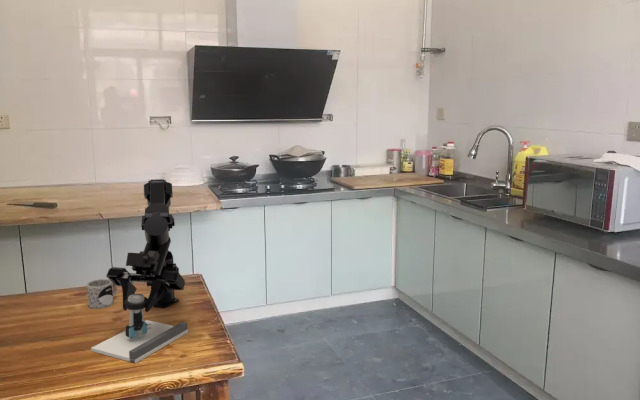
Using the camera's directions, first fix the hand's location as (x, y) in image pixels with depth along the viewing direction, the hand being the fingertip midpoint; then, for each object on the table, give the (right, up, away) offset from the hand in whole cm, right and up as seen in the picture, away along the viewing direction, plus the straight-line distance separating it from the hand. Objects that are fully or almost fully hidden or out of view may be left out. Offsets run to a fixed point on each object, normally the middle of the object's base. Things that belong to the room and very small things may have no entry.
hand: (135, 310), depth 124 cm
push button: (0, -6, +3) cm, 7 cm away
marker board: (+1, -8, +2) cm, 8 cm away
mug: (-19, -4, +28) cm, 34 cm away
